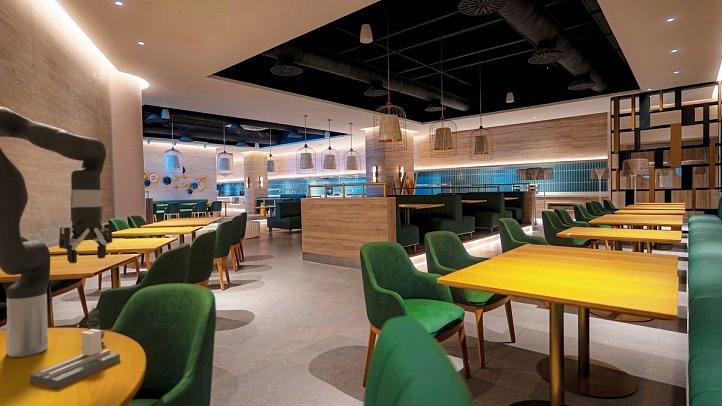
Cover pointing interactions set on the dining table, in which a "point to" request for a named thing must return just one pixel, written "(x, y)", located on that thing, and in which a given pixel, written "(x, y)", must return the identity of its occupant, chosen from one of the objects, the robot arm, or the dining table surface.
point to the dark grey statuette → (94, 322)
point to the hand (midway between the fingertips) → (87, 260)
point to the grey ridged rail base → (73, 369)
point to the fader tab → (91, 342)
